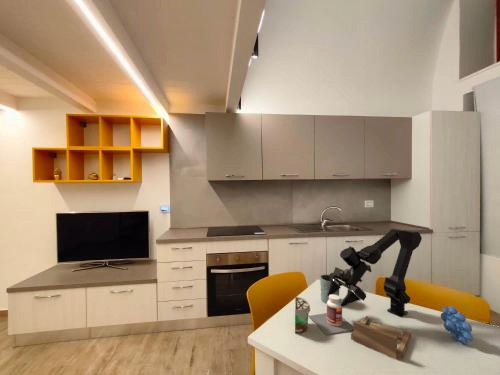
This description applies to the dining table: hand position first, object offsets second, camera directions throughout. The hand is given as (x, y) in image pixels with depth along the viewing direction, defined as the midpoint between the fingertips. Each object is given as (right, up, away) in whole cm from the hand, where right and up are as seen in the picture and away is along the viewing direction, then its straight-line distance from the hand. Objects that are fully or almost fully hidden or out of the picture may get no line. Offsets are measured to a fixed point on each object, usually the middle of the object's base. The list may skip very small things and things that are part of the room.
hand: (334, 300), depth 102 cm
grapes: (+42, -10, -12) cm, 44 cm away
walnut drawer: (+14, -9, -11) cm, 20 cm away
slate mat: (-1, -9, 0) cm, 9 cm away
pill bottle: (0, -9, -1) cm, 9 cm away
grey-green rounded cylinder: (+5, -10, +20) cm, 23 cm away
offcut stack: (+17, -10, -8) cm, 21 cm away
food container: (-15, -9, -4) cm, 18 cm away
